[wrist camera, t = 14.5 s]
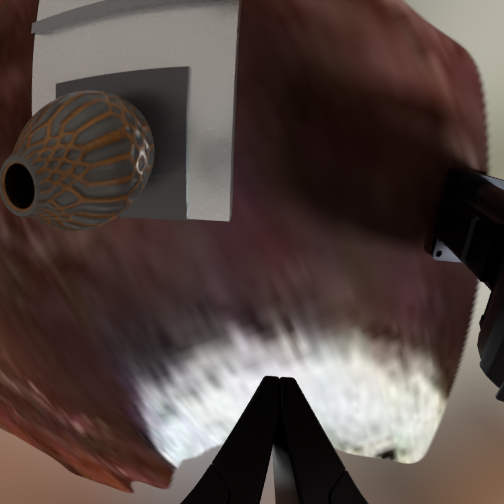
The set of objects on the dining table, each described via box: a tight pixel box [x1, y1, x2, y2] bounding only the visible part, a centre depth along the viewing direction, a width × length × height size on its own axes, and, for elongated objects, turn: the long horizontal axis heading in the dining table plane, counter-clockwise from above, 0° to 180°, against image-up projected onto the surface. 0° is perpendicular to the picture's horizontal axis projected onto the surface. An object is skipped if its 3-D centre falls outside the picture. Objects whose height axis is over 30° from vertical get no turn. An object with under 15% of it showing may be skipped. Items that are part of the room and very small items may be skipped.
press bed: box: [31, 0, 242, 221], centre depth 15 cm, size 14×19×2 cm
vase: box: [0, 90, 154, 231], centre depth 13 cm, size 7×7×9 cm
